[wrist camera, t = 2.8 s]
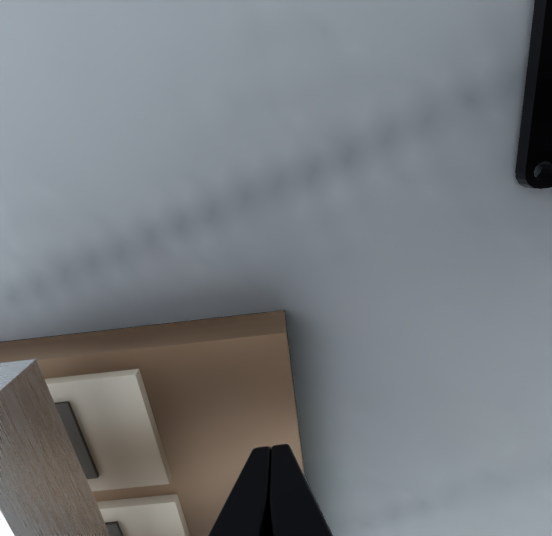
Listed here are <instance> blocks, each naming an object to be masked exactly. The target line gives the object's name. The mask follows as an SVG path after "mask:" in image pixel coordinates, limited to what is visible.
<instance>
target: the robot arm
mask: <svg viewBox="0 0 552 536" xmlns="http://www.w3.org/2000/svg"><path fill="white" fill-rule="evenodd" d="M539 163H540V164H541V167H542V169H541V172H540V174H539V175H538V176H537V177H535V176H534V170H535V167H536V166H537V165H538V164H539ZM516 179H517V181H518V183H519V184H521V185H522V186H524V187H530V188H539V189H541V188H550V187H552V0H535V6H534V15H533V23H532V32H531V41H530V49H529V58H528V67H527V76H526V84H525V93H524V102H523V111H522V119H521V128H520V137H519V145H518V154H517V163H516ZM208 536H333V535H332V532H331V530H330V528H329V526H328V524H327V522H326V520H325V518H324V516H323V514H322V512H321V510H320V508H319V505H318V503H317V501H316V499H315V497H314V495H313V493H312V491H311V489H310V487H309V485H308V483H307V480H306V478H305V476H304V474H303V472H302V470H301V468H300V466H299V464H298V462H297V460H296V458H295V455H294V453H293V451H292V449H291V447H290V445H289V444H280V445H274V446H272V448H271V447H269V446H264V447H256V448H254V449H253V450H252V451H251V453H250V455H249V457H248V459H247V461H246V463H245V465H244V467H243V469H242V471H241V473H240V475H239V477H238V479H237V481H236V482H235V484H234V486H233V488H232V490H231V492H230V494H229V496H228V498H227V500H226V502H225V504H224V506H223V508H222V510H221V512H220V514H219V515H218V517H217V519H216V521H215V523H214V525H213V527H212V529H211V531H210V533H209V535H208Z"/></svg>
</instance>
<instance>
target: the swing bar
mask: <svg viewBox="0 0 552 536" xmlns="http://www.w3.org/2000/svg"><path fill="white" fill-rule="evenodd" d="M0 536H110V533H109V531H108V529H107V526H106V524H105V522H104V519H103V517H102V514H101V512H100V510H99V507H98V505H97V503H96V500H95V498H94V495H93V493H92V491H91V488H90V486H89V484H88V481H87V479H86V476H85V474H84V472H83V469H82V467H81V465H80V462H79V460H78V458H77V455H76V453H75V450H74V448H73V446H72V443H71V441H70V439H69V436H68V434H67V431H66V429H65V427H64V424H63V422H62V420H61V417H60V415H59V412H58V410H57V408H56V405H55V403H54V401H53V398H52V396H51V393H50V391H49V389H48V386H47V384H46V382H45V379H44V377H43V375H42V372H41V370H40V367H39V365H38V363H37V360H36V359H32V360H22V361H13V362H4V363H0Z"/></svg>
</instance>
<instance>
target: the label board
mask: <svg viewBox="0 0 552 536" xmlns="http://www.w3.org/2000/svg"><path fill="white" fill-rule="evenodd" d="M32 359H36V360H37V363H38V365H39V367H40V370H41V372H42V375H43V377H44V379H45V382H46V384H47V386H48V389H49V391H50V393H51V396H52V398H53V401H54V403H55V405H56V408H57V410H58V412H59V415H60V417H61V420H62V422H63V424H64V427H65V429H66V431H67V434H68V436H69V439H70V441H71V443H72V446H73V448H74V450H75V453H76V455H77V458H78V460H79V462H80V465H81V467H82V469H83V472H84V474H85V476H86V479H87V481H88V484H89V486H90V488H91V491H92V493H93V495H94V498H95V500H96V503H97V505H98V507H99V510H100V512H101V514H102V517H103V519H104V522H105V524H106V526H107V529H108V531H109V533H110V536H208V535H209V533H210V531H211V529H212V527H213V525H214V523H215V521H216V519H217V517H218V515H219V514H220V512H221V510H222V508H223V506H224V504H225V502H226V500H227V498H228V496H229V494H230V492H231V490H232V488H233V486H234V484H235V482H236V481H237V479H238V477H239V475H240V473H241V471H242V469H243V467H244V465H245V463H246V461H247V459H248V457H249V455H250V453H251V451H252V450H253V449H254V448H256V447H264V446H269V447H271V448H272V446H274V445H280V444H289V445H290V447H291V449H292V451H293V453H294V455H295V458H296V460H297V462H298V464H299V466H300V468H301V470H302V472H303V474H304V476H305V473H304V464H303V456H302V448H301V440H300V432H299V424H298V416H297V408H296V400H295V392H294V384H293V376H292V367H291V359H290V351H289V343H288V335H287V327H286V319H285V311H284V310H282V311H273V312H264V313H256V314H247V315H238V316H229V317H220V318H211V319H202V320H193V321H184V322H175V323H166V324H157V325H148V326H139V327H130V328H122V329H113V330H104V331H95V332H86V333H77V334H68V335H59V336H50V337H41V338H32V339H23V340H14V341H5V342H0V363H4V362H13V361H22V360H32Z"/></svg>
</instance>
